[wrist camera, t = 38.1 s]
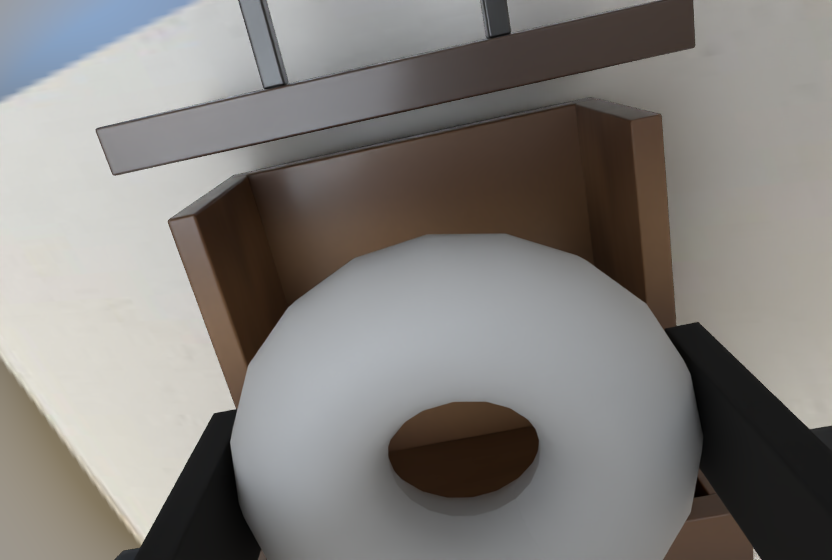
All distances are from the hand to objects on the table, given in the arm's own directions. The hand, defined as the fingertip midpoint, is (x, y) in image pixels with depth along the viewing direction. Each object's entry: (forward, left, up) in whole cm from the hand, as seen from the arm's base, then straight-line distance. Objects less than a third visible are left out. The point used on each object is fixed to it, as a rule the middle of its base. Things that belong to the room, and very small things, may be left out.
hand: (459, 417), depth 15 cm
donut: (0, 0, -1) cm, 1 cm away
